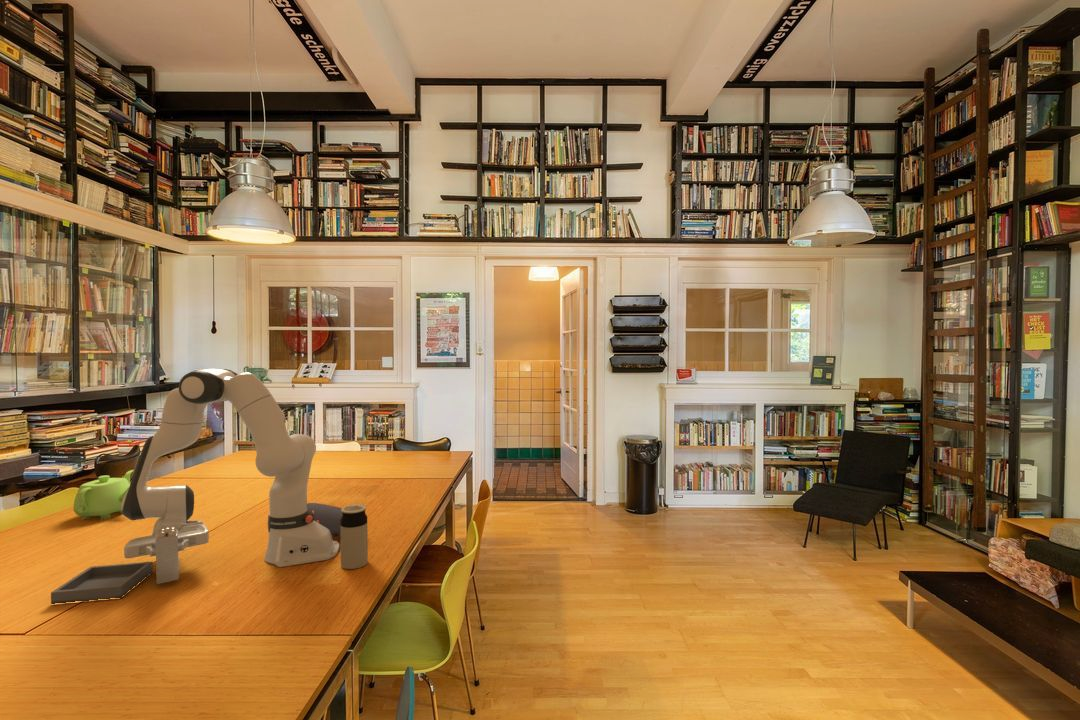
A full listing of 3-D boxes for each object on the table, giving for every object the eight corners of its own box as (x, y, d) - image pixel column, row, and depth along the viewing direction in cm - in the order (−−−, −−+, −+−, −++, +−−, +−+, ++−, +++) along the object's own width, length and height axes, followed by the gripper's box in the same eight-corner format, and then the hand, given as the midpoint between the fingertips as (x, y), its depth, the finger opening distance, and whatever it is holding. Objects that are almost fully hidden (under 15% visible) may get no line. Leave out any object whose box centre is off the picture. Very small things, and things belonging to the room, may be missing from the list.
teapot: (114, 524, 193) (113, 483, 192) (59, 524, 193) (58, 483, 193) (164, 503, 218) (163, 467, 217) (115, 503, 218) (114, 467, 218)
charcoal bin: (152, 572, 152) (152, 561, 152) (121, 599, 136) (120, 586, 136) (90, 578, 148) (90, 566, 148) (51, 605, 132) (50, 592, 132)
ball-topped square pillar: (178, 573, 148) (177, 523, 148) (178, 579, 144) (177, 528, 143) (157, 577, 145) (156, 527, 145) (156, 584, 141) (155, 532, 141)
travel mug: (358, 571, 153) (358, 513, 153) (335, 568, 155) (335, 511, 154) (372, 560, 161) (372, 504, 160) (350, 558, 162) (349, 503, 162)
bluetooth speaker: (297, 531, 185) (296, 505, 185) (318, 523, 194) (318, 498, 193) (339, 543, 175) (339, 514, 174) (360, 534, 183) (360, 507, 183)
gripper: (125, 533, 149) (119, 548, 138) (207, 519, 161) (208, 532, 149) (126, 553, 149) (120, 571, 138) (208, 538, 161) (209, 553, 149)
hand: (167, 550), depth 144 cm, fingers closed on ball-topped square pillar, 5 cm apart
